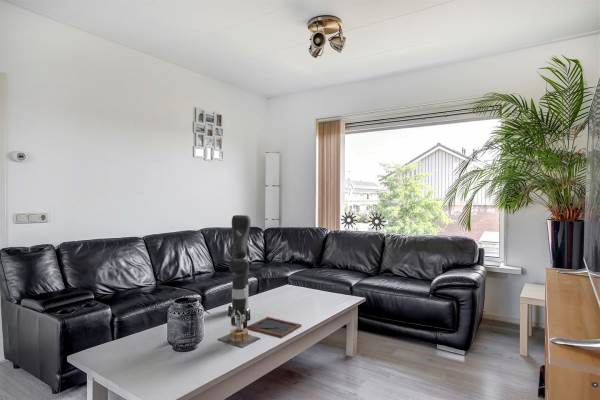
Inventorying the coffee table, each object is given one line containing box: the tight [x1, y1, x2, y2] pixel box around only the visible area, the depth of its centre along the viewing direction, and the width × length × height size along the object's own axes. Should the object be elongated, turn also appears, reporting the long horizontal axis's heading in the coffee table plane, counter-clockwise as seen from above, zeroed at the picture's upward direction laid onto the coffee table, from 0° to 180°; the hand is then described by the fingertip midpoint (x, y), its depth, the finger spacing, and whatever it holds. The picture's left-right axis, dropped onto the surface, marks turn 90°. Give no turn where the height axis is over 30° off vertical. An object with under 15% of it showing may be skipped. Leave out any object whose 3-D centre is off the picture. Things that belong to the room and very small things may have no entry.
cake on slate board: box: [217, 327, 261, 349], centre depth 186 cm, size 18×14×4 cm
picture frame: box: [246, 316, 302, 339], centre depth 203 cm, size 20×2×25 cm
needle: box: [235, 315, 242, 333], centre depth 186 cm, size 2×2×12 cm
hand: (239, 326), depth 186 cm, fingers open, 8 cm apart
